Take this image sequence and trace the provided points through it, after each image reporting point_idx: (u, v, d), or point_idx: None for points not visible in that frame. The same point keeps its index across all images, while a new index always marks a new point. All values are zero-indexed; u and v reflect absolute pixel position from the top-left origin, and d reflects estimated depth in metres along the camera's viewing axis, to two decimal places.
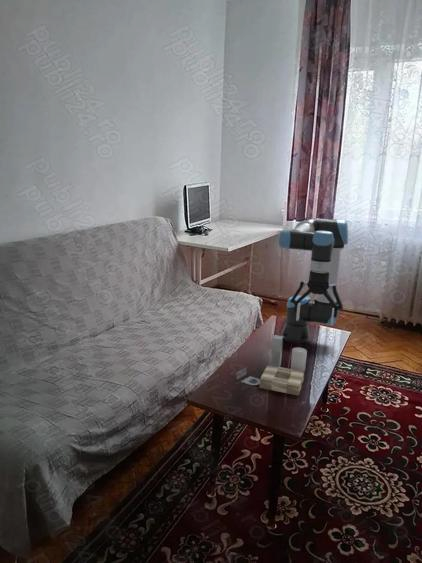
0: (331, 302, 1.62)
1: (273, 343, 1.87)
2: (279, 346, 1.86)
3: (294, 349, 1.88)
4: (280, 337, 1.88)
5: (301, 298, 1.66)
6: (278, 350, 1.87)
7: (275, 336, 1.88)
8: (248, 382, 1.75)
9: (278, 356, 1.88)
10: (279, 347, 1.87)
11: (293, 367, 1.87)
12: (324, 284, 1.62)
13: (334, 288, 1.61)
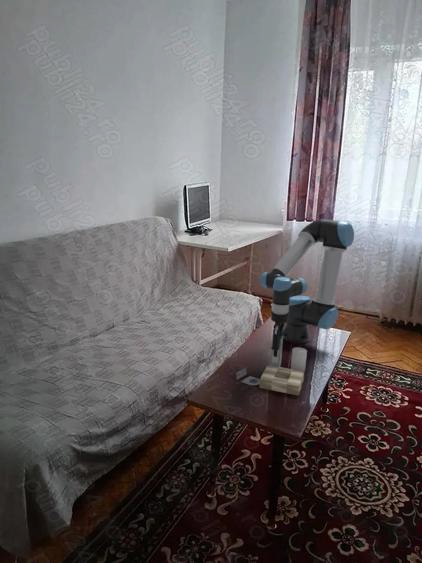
0: None
1: None
2: (279, 346, 1.86)
3: (294, 349, 1.88)
4: (280, 337, 1.88)
5: None
6: None
7: None
8: (248, 382, 1.75)
9: None
10: (279, 347, 1.87)
11: (293, 367, 1.87)
12: (275, 323, 1.84)
13: None
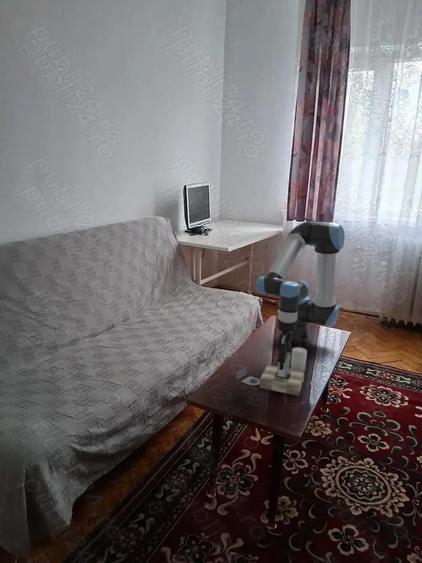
0: None
1: None
2: (286, 363, 1.70)
3: (294, 349, 1.87)
4: (287, 353, 1.71)
5: None
6: (285, 367, 1.71)
7: None
8: (248, 382, 1.75)
9: (285, 374, 1.71)
10: (286, 364, 1.70)
11: (293, 367, 1.87)
12: (282, 332, 1.67)
13: None
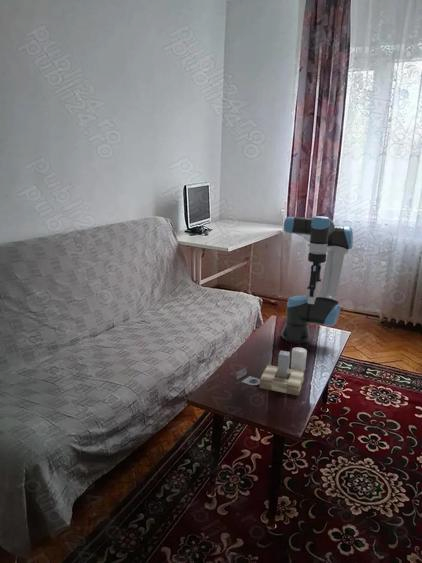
0: None
1: (279, 360, 1.71)
2: (286, 363, 1.70)
3: (294, 349, 1.88)
4: (287, 353, 1.71)
5: None
6: (285, 367, 1.71)
7: (281, 352, 1.72)
8: (248, 382, 1.75)
9: (285, 374, 1.71)
10: (286, 364, 1.70)
11: (293, 367, 1.87)
12: (313, 264, 1.79)
13: (311, 268, 1.76)
